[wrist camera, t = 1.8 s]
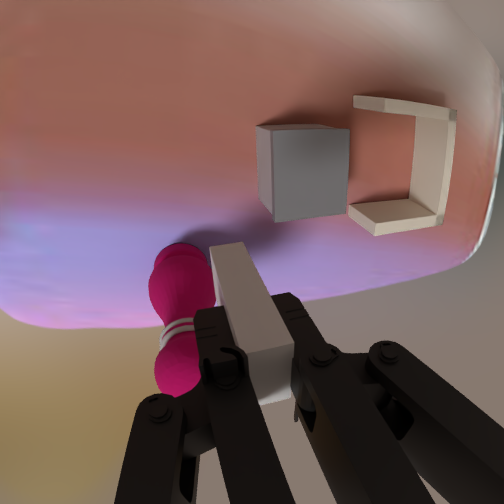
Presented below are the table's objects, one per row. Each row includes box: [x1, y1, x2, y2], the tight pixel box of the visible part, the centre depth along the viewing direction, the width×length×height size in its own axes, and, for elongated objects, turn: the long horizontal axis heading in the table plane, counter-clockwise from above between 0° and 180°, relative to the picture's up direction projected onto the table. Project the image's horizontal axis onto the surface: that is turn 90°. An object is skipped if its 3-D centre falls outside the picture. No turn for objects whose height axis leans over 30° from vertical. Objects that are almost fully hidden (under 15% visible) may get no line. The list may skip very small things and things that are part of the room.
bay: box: [348, 95, 457, 236], centre depth 33 cm, size 15×12×6 cm
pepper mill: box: [148, 243, 216, 397], centre depth 27 cm, size 7×7×20 cm
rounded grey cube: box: [256, 124, 350, 223], centre depth 30 cm, size 8×7×7 cm
